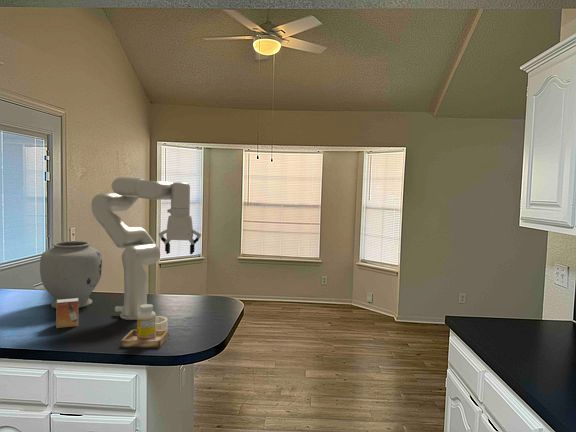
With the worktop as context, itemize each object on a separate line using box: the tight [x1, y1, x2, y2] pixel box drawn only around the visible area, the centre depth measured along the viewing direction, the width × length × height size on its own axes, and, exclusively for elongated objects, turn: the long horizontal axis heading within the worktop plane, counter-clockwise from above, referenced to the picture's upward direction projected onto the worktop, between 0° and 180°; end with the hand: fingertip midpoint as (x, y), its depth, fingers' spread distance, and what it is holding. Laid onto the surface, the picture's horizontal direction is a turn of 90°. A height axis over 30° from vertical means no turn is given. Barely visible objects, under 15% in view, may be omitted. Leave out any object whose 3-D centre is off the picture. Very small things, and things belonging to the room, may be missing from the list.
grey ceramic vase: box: [39, 240, 103, 309], centre depth 202 cm, size 27×27×30 cm
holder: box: [156, 315, 169, 330], centre depth 170 cm, size 11×11×4 cm
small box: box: [55, 298, 79, 329], centre depth 172 cm, size 8×6×10 cm
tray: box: [120, 328, 170, 349], centre depth 157 cm, size 14×12×2 cm
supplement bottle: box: [136, 303, 157, 340], centre depth 157 cm, size 7×7×13 cm
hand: (179, 253), depth 174 cm, fingers open, 9 cm apart
